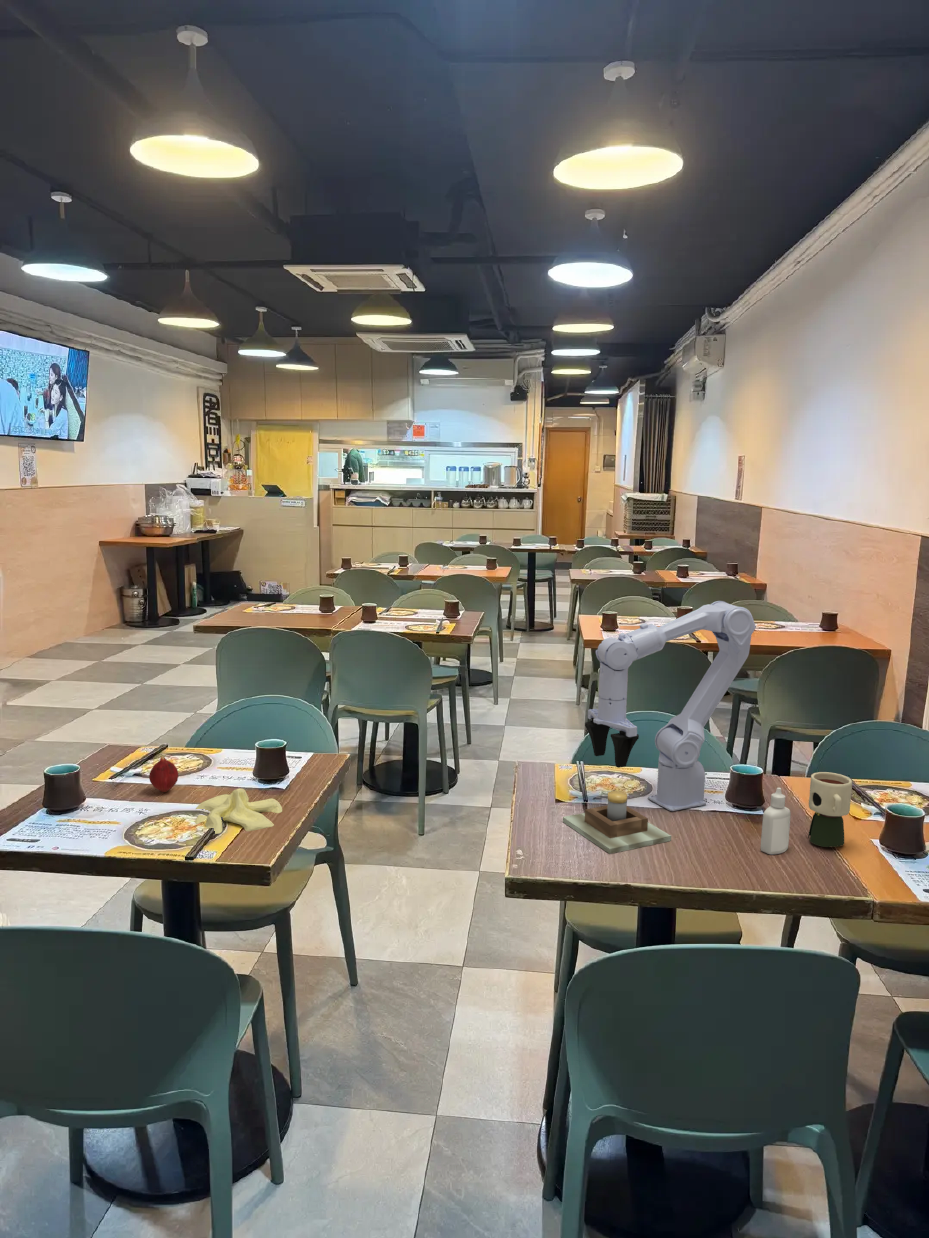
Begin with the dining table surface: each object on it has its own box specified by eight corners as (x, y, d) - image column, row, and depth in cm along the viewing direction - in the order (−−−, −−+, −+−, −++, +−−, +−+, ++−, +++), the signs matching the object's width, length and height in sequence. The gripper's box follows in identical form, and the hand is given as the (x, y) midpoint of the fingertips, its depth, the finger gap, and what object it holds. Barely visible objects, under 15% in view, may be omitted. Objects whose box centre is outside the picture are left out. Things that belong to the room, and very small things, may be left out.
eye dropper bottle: (794, 854, 153) (799, 792, 151) (764, 855, 152) (768, 792, 150) (783, 844, 157) (788, 783, 155) (754, 845, 157) (759, 784, 155)
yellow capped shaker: (619, 825, 165) (621, 789, 163) (629, 833, 161) (630, 796, 160) (602, 828, 163) (604, 791, 162) (612, 835, 160) (613, 798, 159)
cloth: (205, 798, 178) (203, 770, 177) (292, 799, 178) (291, 771, 177) (167, 843, 156) (166, 811, 155) (267, 844, 156) (266, 813, 155)
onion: (184, 790, 180) (183, 755, 179) (162, 799, 175) (160, 762, 174) (167, 785, 183) (165, 750, 182) (144, 793, 178) (142, 757, 177)
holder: (620, 810, 172) (621, 794, 172) (670, 840, 158) (671, 823, 157) (562, 821, 166) (563, 804, 166) (609, 853, 152) (610, 835, 152)
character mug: (798, 830, 163) (803, 767, 161) (836, 833, 162) (842, 769, 160) (813, 855, 153) (819, 787, 151) (854, 857, 152) (861, 789, 150)
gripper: (576, 690, 175) (574, 752, 178) (617, 707, 163) (614, 774, 165) (604, 687, 178) (602, 748, 181) (646, 704, 166) (643, 769, 168)
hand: (609, 760), depth 173 cm, fingers open, 7 cm apart
